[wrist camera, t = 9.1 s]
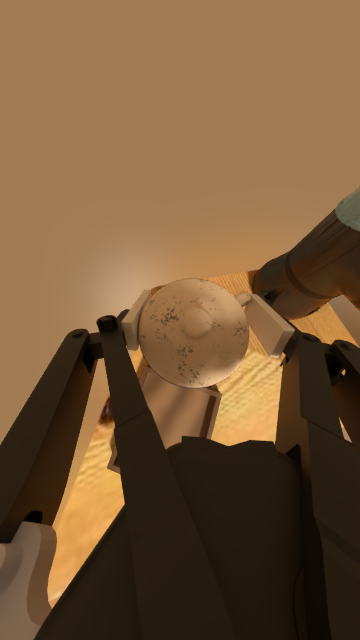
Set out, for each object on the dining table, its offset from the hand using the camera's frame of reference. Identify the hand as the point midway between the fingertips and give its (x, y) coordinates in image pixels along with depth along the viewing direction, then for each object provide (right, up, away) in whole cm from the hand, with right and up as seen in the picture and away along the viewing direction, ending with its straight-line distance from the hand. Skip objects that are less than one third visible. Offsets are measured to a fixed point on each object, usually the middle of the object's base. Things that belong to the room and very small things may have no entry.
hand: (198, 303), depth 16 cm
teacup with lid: (0, -4, +4) cm, 6 cm away
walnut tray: (-4, -23, +12) cm, 26 cm away
